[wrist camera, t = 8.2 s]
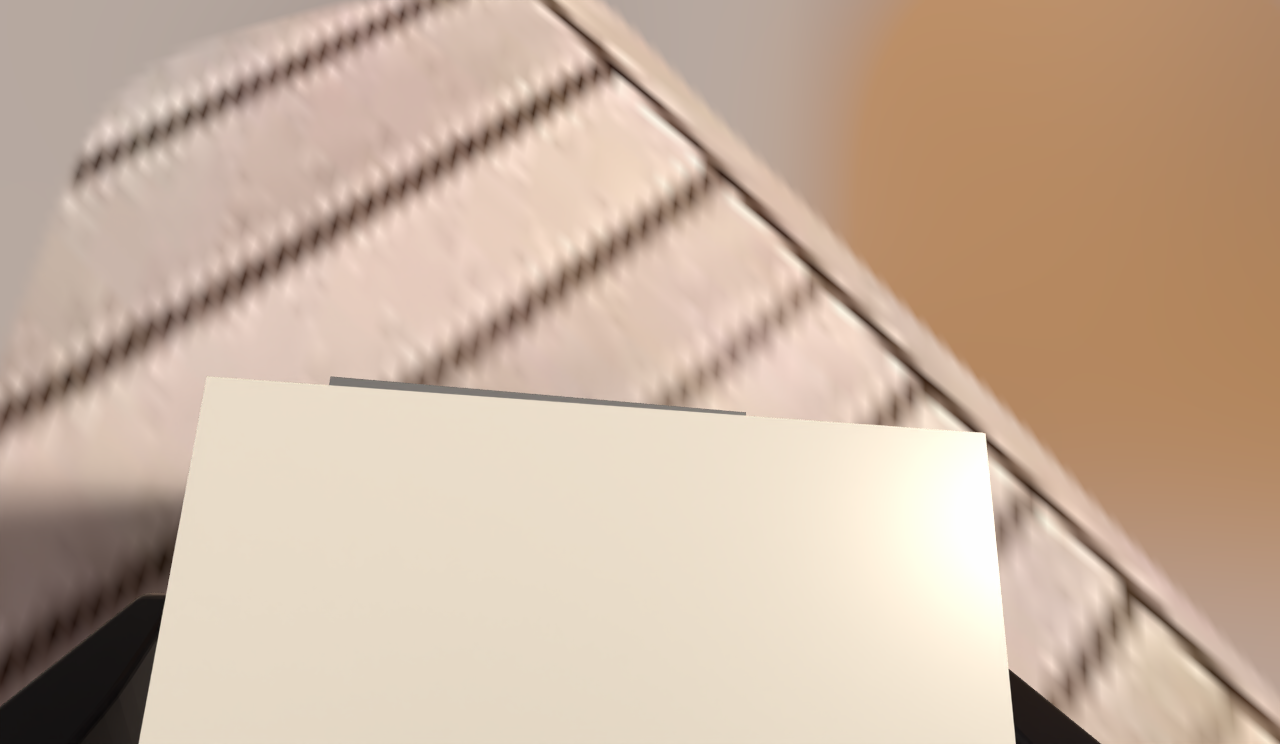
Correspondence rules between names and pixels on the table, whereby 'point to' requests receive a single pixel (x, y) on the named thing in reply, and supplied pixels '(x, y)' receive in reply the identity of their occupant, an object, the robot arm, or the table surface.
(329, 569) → the plug
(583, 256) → the table surface
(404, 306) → the table surface
